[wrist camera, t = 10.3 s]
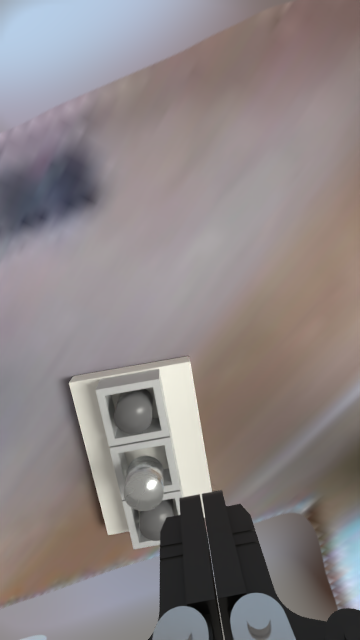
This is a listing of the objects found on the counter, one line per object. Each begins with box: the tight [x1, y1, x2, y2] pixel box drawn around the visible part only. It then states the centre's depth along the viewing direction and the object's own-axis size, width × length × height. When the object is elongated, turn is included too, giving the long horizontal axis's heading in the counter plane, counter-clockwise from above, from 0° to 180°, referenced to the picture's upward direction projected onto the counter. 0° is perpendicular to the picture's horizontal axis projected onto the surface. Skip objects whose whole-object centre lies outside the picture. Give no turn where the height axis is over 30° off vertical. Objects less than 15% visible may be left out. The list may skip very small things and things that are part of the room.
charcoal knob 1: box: [114, 389, 153, 434], centre depth 38 cm, size 4×4×4 cm
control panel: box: [69, 356, 212, 549], centre depth 41 cm, size 14×21×5 cm, turn 9°
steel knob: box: [124, 456, 164, 511], centre depth 36 cm, size 4×4×4 cm
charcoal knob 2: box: [139, 499, 174, 541], centre depth 41 cm, size 4×4×4 cm
